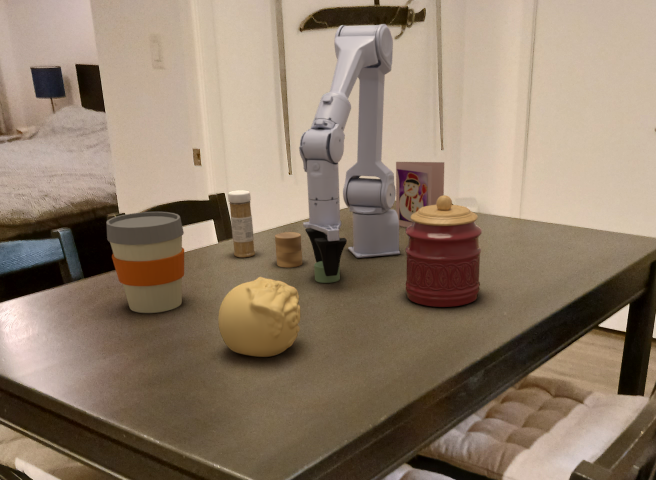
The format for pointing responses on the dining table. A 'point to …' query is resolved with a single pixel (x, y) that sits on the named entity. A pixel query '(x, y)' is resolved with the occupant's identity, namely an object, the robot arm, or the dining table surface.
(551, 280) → the dining table surface
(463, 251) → the kitchen canister
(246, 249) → the sprinkles bottle
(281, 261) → the pile bottom chip
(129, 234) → the reusable coffee cup
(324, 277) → the green short cylinder
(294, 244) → the pile middle chip
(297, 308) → the sculpture
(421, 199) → the greeting card
